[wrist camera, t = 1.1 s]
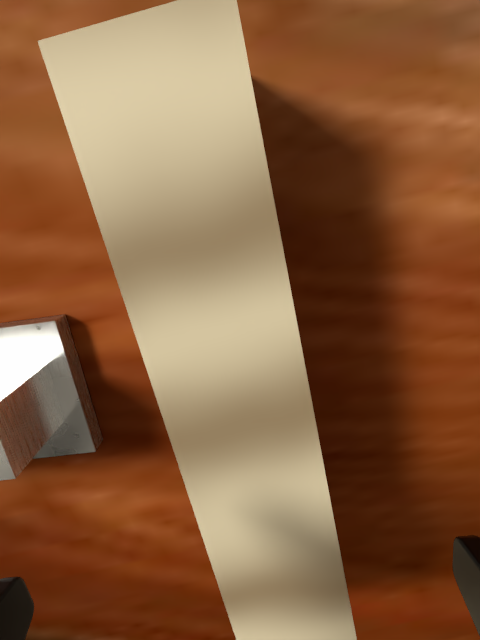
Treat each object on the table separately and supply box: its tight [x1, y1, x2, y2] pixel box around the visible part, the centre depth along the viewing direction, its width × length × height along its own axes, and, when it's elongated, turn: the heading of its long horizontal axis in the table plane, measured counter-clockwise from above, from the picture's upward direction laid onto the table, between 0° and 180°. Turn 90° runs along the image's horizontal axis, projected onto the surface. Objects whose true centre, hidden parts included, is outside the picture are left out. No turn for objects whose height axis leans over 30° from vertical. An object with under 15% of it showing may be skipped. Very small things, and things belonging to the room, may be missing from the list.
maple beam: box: [38, 0, 357, 640], centre depth 15 cm, size 24×5×6 cm, turn 13°
